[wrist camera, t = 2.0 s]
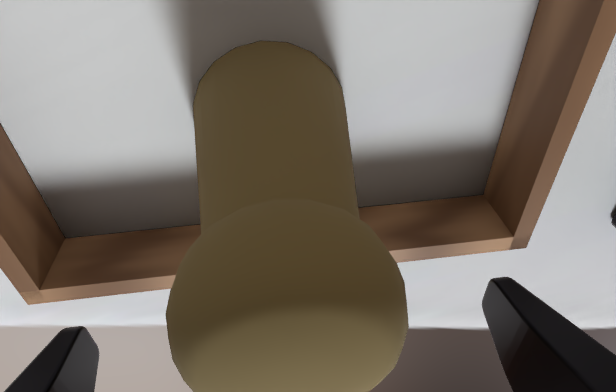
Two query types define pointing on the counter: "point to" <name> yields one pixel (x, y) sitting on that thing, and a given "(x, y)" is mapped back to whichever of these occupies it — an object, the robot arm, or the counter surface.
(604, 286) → the counter surface
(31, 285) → the wooden u-shaped frame
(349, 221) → the cork
